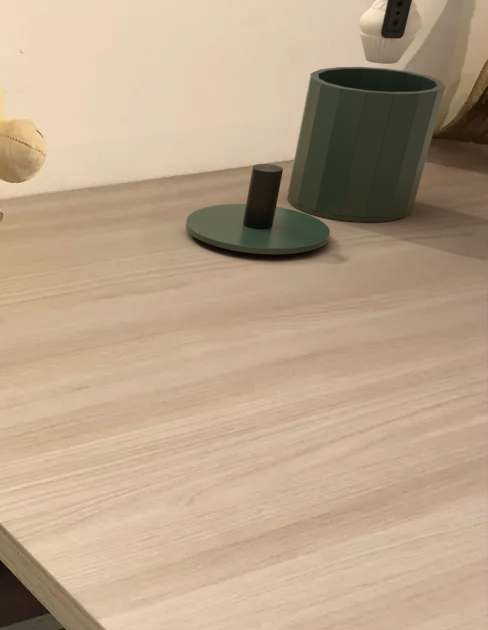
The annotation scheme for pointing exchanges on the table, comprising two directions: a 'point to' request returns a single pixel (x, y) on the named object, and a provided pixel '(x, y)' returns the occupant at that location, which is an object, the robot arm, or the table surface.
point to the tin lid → (259, 221)
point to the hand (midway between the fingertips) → (389, 31)
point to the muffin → (386, 48)
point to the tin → (363, 143)
